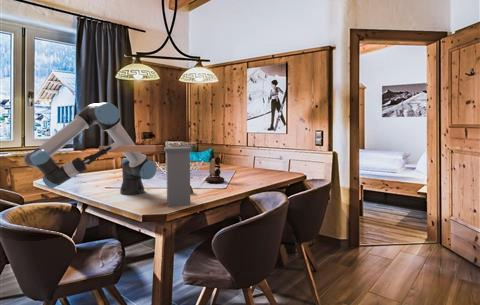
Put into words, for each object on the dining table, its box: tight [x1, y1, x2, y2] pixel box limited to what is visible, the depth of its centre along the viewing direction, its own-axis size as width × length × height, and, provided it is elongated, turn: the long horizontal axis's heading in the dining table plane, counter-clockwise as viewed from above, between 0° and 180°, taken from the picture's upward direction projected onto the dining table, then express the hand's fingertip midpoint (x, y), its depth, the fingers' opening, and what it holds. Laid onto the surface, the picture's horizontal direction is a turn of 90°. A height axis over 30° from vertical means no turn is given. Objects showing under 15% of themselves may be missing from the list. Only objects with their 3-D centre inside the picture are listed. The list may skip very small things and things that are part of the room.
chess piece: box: [205, 155, 225, 184], centre depth 242 cm, size 15×15×20 cm
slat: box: [98, 144, 157, 153], centre depth 167 cm, size 4×28×3 cm, turn 107°
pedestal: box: [163, 146, 193, 208], centre depth 176 cm, size 12×14×32 cm
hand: (117, 143), depth 165 cm, fingers closed on slat, 4 cm apart
